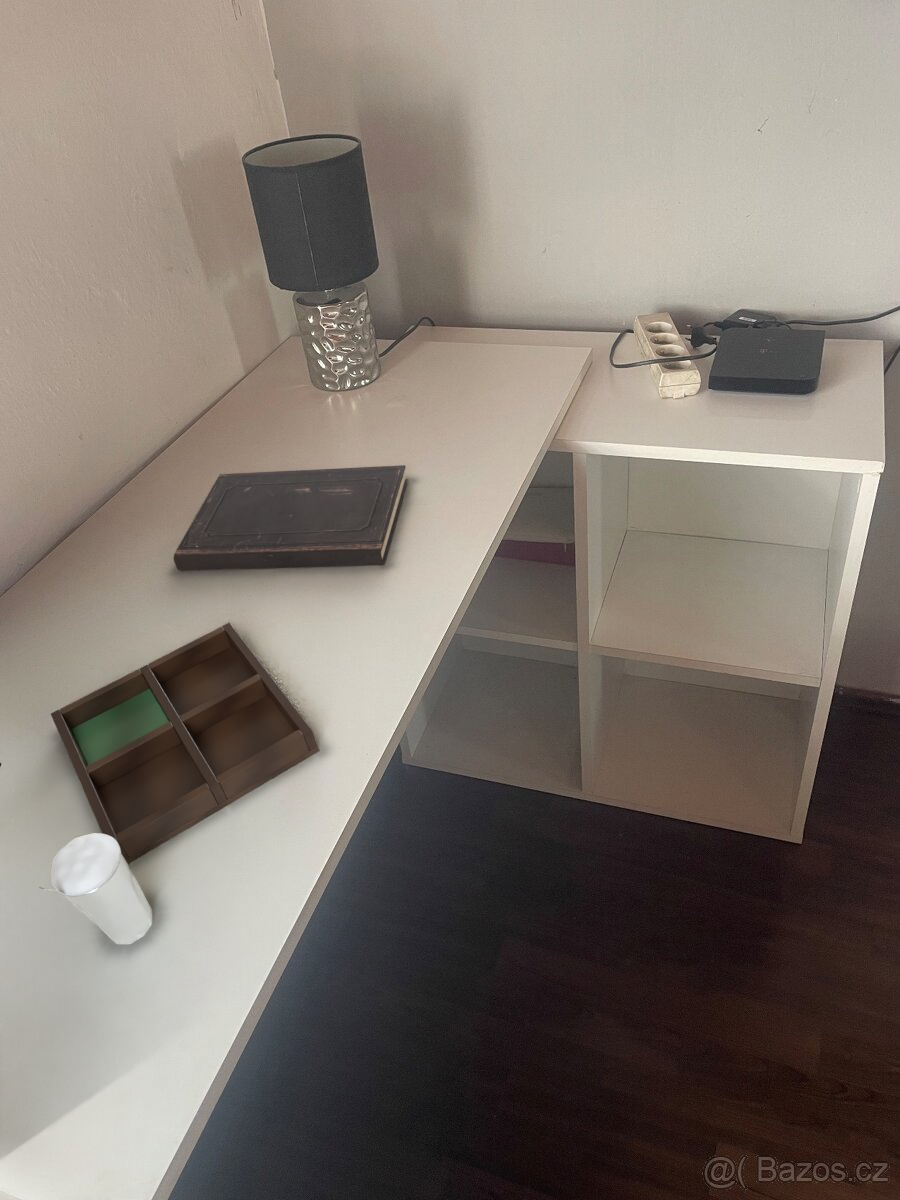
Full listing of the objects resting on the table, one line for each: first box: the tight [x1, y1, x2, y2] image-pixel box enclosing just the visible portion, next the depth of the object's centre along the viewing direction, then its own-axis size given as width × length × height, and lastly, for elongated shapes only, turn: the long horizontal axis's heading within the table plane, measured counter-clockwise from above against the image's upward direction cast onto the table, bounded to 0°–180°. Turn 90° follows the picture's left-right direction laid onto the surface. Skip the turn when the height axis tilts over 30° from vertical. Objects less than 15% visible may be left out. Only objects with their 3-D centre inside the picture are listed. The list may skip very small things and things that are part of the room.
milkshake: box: [38, 832, 153, 945], centre depth 59 cm, size 4×5×10 cm
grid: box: [50, 621, 320, 865], centre depth 74 cm, size 17×17×3 cm
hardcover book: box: [173, 464, 409, 572], centre depth 97 cm, size 16×23×2 cm
